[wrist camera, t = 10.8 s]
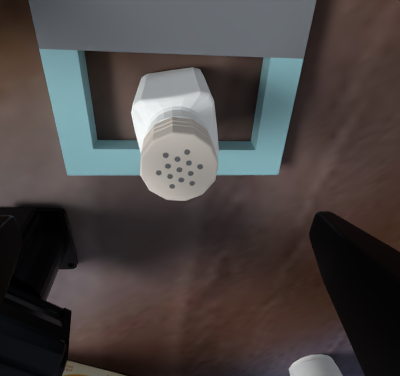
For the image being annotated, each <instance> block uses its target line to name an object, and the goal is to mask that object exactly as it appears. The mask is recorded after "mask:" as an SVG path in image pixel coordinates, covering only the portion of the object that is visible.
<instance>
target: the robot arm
mask: <svg viewBox="0 0 400 376" xmlns="http://www.w3.org/2000/svg"><path fill="white" fill-rule="evenodd" d="M57 214H60V215H61V216H60V215H57ZM309 237H310V241H311V244H312V248H313V251H314V254H315V257H316V260H317V263H318V267H319V270H320V273H321V276H322V279H323V282H324V284H325V286H326V289H327V291H328V293H329V296H330V298H331V300H332V302H333V305H334V307H335V309H336V311H337V314H338V316H339V318H340V321H341V323H342V325H343V327H344V330H345V332H346V334H347V336H348V339H349V341H350V343H351V345H352V348H353V350H354V352H355V355H356V357H357V359H358V361H359V364H360V366H361V368H362V370H363V373H364V375H365V376H400V252H399V251H397V250H395V249H394V248H392V247H390V246H389V245H387V244H385V243H383V242H382V241H380V240H378V239H377V238H375V237H373V236H371V235H370V234H368V233H366V232H365V231H363V230H361V229H359V228H358V227H356V226H354V225H353V224H351V223H349V222H347V221H346V220H344V219H342V218H341V217H339V216H337V215H336V214H334V213H332V212H329V211H321V212H317V213H316V214H315V216H314V219H313V222H312V225H311V228H310V232H309ZM71 263H73V264H71ZM77 264H78V260H77V256H76V251H75V247H74V243H73V239H72V235H71V231H70V227H69V223H68V219H67V215H66V212H65V211H64V210H63V209H61V208H0V376H62V375H63V372H64V369H65V366H66V363H67V358H68V348H69V335H70V323H71V310H69V309H66V308H61V307H58V306H56V305H54V304H52V303H50V302H47V301H46V300H47V297H48V295H49V292H50V290H51V287H52V285H53V282H54V280H55V277H56V275H57V272H58V270H59V269H74V268H76V267H77Z"/></svg>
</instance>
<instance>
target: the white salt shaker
mask: <svg viewBox="0 0 400 376" xmlns="http://www.w3.org/2000/svg"><path fill="white" fill-rule="evenodd" d="M131 115H132V119H133V124H134V128H135V133H136V137H137V141H138V145H139V148H140V152H141V161H140V176H141V177H142V179H143V180H144V182H145V184H146V185H147V187H148V189H149V190H150V191H151V192H153V193H155V194H157V195H159V196H160V197H162V198H164V199H166V200H177V201H187V200H189V199H192V198H194V197H197V196H200V195H202V194H203V193H204V192H205V191H206V190H207V189H208V188H209V187H210V186H211V185H212V184H213V182H214V181H215V179H216V174H217V169H218V164H219V162H218V159H217V157H218V155H219V146H218V133H217V123H216V114H215V105H214V100H213V97H212V95H211V93H210V90H209V88H208V85H207V83H206V81H205V78H204V76H203V74H202V72H201V70H200V69H198V68H194V67H190V68H183V69H176V70H170V71H163V72H156V73H149V74H146V75H145V76H143V77H142V78H141V81H140V84H139V87H138V90H137V93H136V96H135V99H134V102H133V106H132V112H131Z"/></svg>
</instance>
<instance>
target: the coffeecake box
mask: <svg viewBox="0 0 400 376" xmlns="http://www.w3.org/2000/svg"><path fill="white" fill-rule="evenodd" d="M62 376H126V375H122V374H118V373H115V372H111V371H107V370H103V369H99V368H95V367H91V366H87V365H84V364H80V363H76V362H72V361H68V360H67V363H66V366H65V369H64V372H63V375H62Z"/></svg>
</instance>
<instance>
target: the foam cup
mask: <svg viewBox="0 0 400 376" xmlns="http://www.w3.org/2000/svg"><path fill="white" fill-rule="evenodd" d="M289 373H290V376H343V375H342V373H341V372H340V370H339V368H338V367H337V365H336V364H335V363H334V360H333V359H332V358H331V357H330V356H328V355H323V354H317V355H309V356H306V357H303V358H300V359H299V360H297V361H295V362H294V363H293V364H292V365H291V366H290V368H289Z"/></svg>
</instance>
